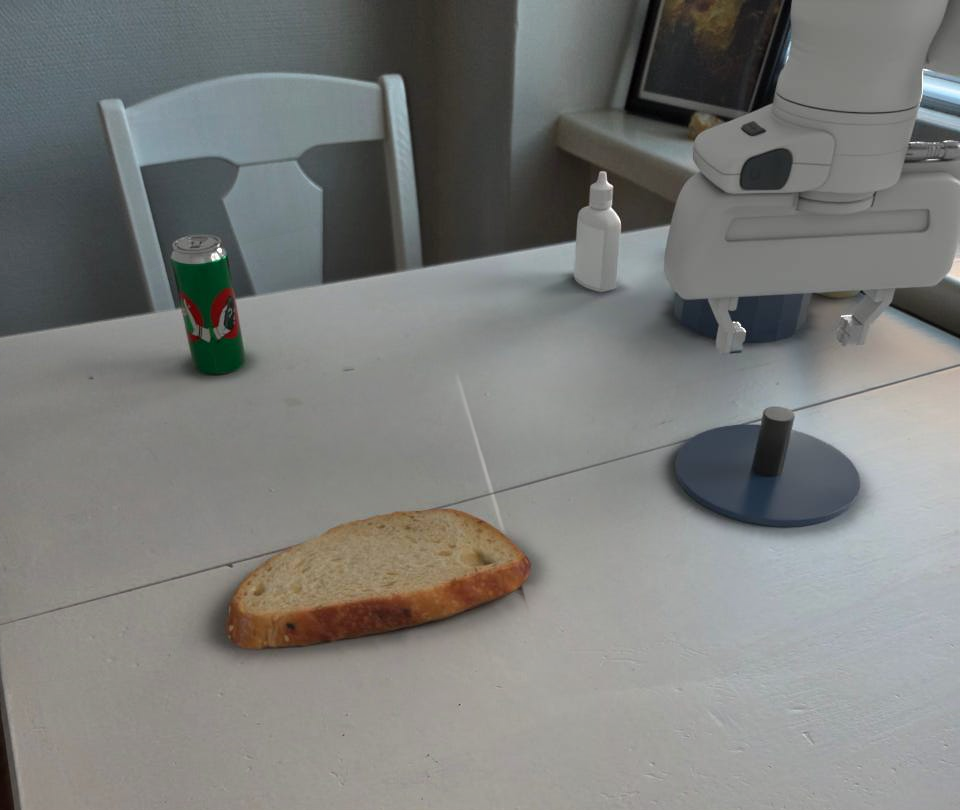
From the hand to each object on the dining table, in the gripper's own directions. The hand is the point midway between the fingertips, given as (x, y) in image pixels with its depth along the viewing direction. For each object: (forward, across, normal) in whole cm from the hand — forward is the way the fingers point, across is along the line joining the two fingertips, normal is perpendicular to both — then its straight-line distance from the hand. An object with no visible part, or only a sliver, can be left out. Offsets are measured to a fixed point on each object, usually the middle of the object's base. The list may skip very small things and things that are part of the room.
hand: (789, 346), depth 73 cm
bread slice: (+12, +32, +10) cm, 35 cm away
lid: (+11, 0, 0) cm, 11 cm away
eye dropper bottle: (+12, +4, -42) cm, 44 cm away
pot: (+12, -9, -31) cm, 34 cm away
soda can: (+12, +45, -28) cm, 54 cm away
